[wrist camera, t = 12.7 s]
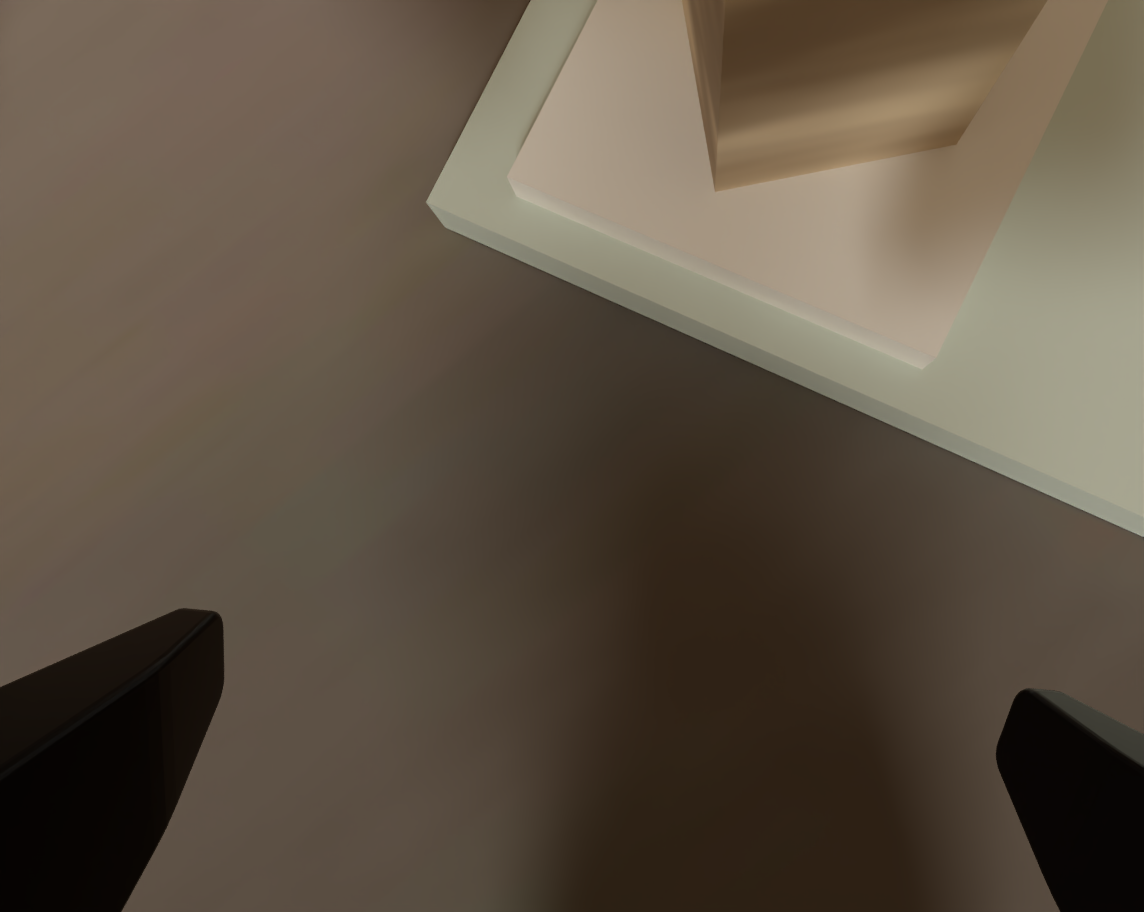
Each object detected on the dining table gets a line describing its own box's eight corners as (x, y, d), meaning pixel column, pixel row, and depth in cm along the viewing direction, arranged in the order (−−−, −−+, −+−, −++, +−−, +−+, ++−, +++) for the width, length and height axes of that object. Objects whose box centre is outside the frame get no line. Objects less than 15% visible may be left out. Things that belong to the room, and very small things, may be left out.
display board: (1541, -68, 18) (1676, -168, 15) (1245, 582, 17) (1337, 586, 15) (715, -297, 22) (717, -406, 19) (444, 227, 21) (411, 183, 18)
